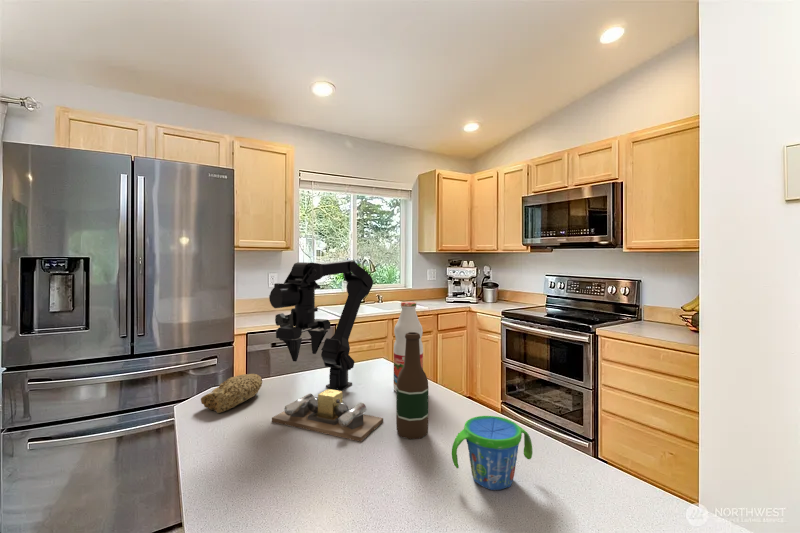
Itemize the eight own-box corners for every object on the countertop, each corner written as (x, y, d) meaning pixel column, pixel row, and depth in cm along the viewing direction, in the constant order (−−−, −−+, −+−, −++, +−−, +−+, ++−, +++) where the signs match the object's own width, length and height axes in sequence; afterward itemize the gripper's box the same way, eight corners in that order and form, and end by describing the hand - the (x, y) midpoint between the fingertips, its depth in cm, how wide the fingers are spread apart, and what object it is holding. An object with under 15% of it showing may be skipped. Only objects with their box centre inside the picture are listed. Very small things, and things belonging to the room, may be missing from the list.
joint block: (343, 414, 99) (343, 391, 98) (333, 421, 94) (333, 397, 94) (327, 411, 101) (327, 388, 101) (317, 417, 97) (317, 394, 96)
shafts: (306, 404, 103) (306, 391, 103) (366, 415, 96) (366, 401, 96) (284, 416, 95) (284, 402, 95) (347, 430, 88) (347, 414, 88)
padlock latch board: (300, 405, 107) (300, 393, 107) (383, 421, 96) (383, 408, 96) (271, 421, 96) (271, 408, 96) (360, 441, 86) (361, 426, 86)
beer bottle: (426, 441, 86) (426, 337, 86) (392, 438, 88) (393, 335, 87) (430, 426, 94) (430, 330, 93) (399, 424, 95) (399, 329, 95)
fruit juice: (425, 386, 123) (426, 301, 123) (419, 396, 114) (419, 304, 114) (398, 383, 126) (398, 300, 125) (389, 393, 117) (389, 303, 116)
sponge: (227, 421, 99) (279, 383, 117) (218, 394, 99) (272, 360, 116) (196, 420, 105) (250, 385, 123) (187, 395, 104) (243, 362, 122)
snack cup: (458, 500, 65) (459, 442, 65) (445, 466, 76) (445, 416, 76) (545, 495, 67) (545, 438, 67) (520, 462, 77) (520, 413, 77)
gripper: (302, 300, 123) (302, 348, 123) (260, 307, 106) (260, 362, 106) (331, 302, 118) (331, 351, 119) (292, 309, 101) (292, 366, 102)
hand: (304, 357), depth 111 cm, fingers open, 9 cm apart
